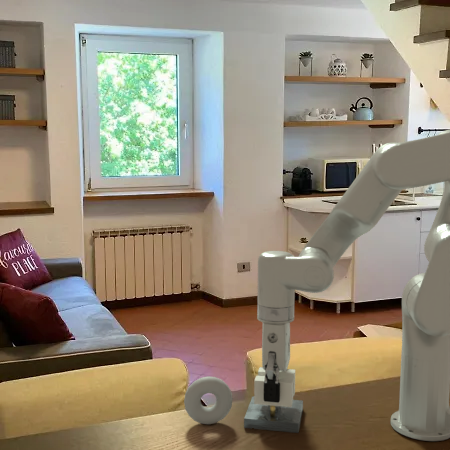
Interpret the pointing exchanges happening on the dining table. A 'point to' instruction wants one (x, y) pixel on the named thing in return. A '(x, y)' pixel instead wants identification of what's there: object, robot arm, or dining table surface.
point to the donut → (201, 388)
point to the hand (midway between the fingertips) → (274, 391)
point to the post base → (274, 417)
